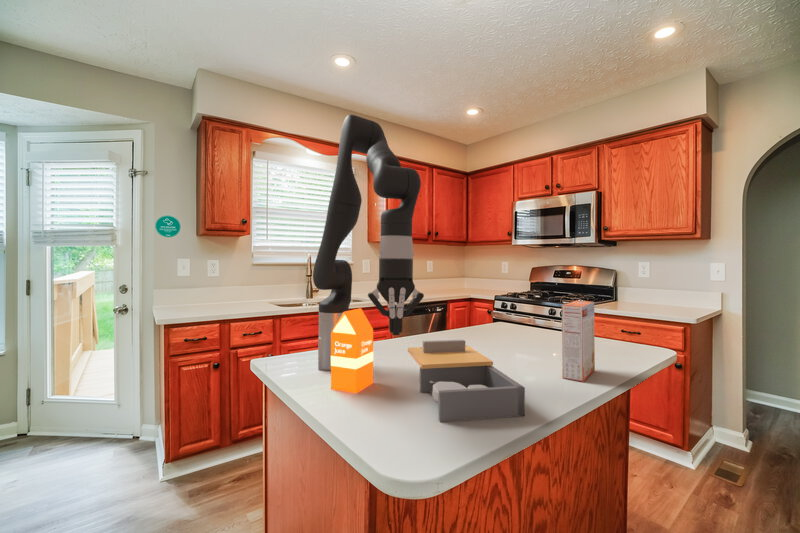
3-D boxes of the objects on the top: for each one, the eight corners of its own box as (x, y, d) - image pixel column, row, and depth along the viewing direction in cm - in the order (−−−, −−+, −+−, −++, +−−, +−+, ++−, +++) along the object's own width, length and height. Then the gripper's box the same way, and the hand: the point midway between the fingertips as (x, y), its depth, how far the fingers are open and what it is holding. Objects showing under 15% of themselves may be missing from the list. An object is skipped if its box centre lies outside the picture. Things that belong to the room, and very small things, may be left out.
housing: (440, 422, 75) (440, 392, 75) (419, 391, 93) (419, 367, 93) (524, 415, 78) (524, 387, 78) (489, 386, 96) (489, 364, 96)
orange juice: (330, 388, 94) (330, 311, 94) (349, 379, 102) (349, 307, 102) (356, 393, 91) (356, 312, 91) (373, 383, 99) (374, 308, 99)
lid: (422, 368, 90) (422, 352, 90) (407, 351, 109) (407, 337, 108) (493, 365, 94) (493, 349, 94) (467, 348, 112) (467, 335, 112)
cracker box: (573, 367, 114) (574, 300, 114) (595, 371, 110) (595, 301, 110) (560, 378, 103) (560, 303, 103) (583, 382, 99) (584, 305, 99)
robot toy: (484, 397, 91) (426, 396, 89) (486, 379, 91) (427, 378, 89) (507, 418, 79) (440, 417, 76) (509, 397, 79) (441, 396, 77)
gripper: (421, 257, 87) (420, 330, 87) (365, 256, 85) (364, 332, 85) (429, 257, 79) (428, 337, 80) (367, 256, 77) (366, 338, 77)
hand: (395, 334), depth 82 cm, fingers closed
